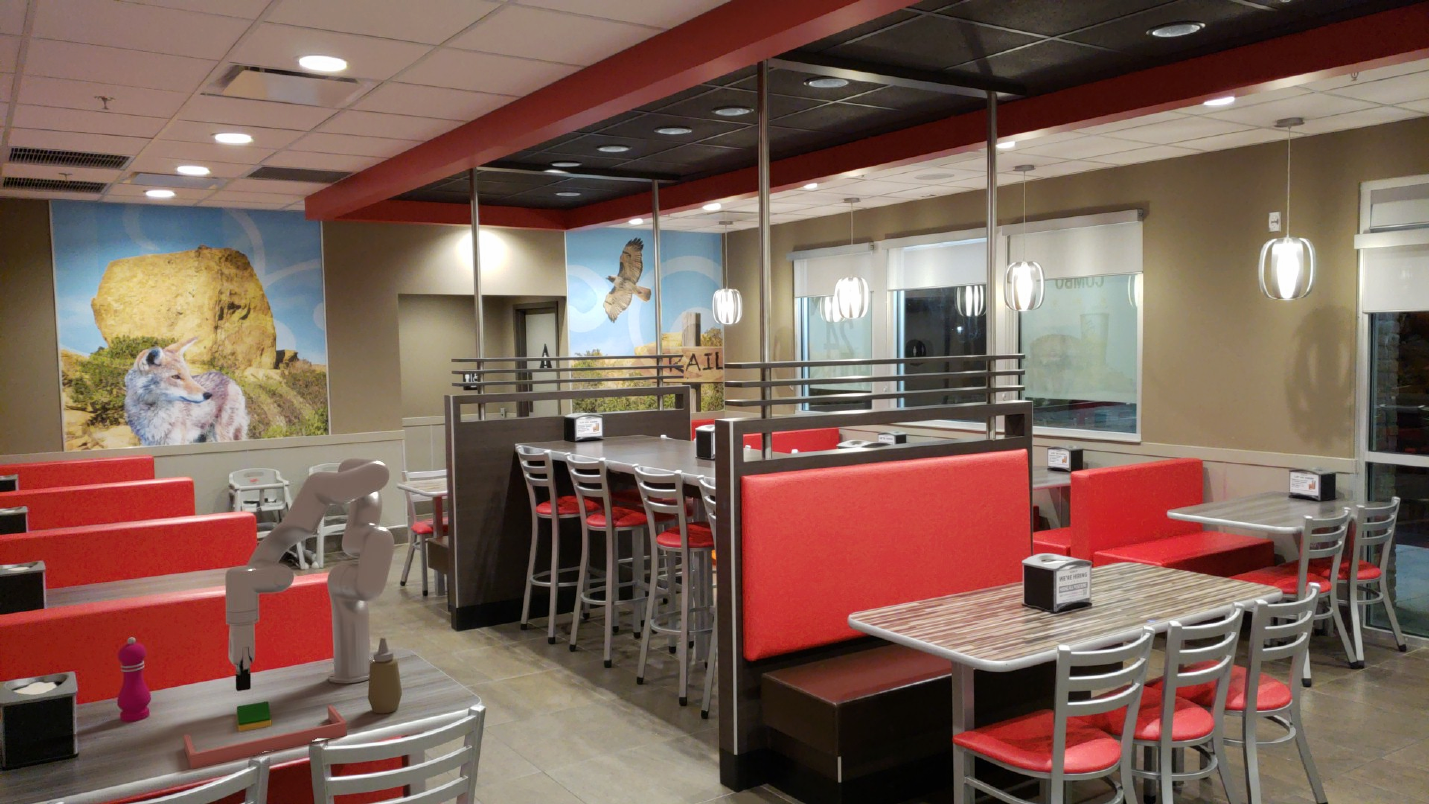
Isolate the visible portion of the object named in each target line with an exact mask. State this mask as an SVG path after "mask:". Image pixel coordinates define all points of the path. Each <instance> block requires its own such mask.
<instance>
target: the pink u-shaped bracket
mask: <svg viewBox="0 0 1429 804" xmlns="http://www.w3.org/2000/svg"><path fill="white" fill-rule="evenodd" d="M327 715H328V720H329V721H330V723H331V724H327V725H320V726H316V727H312V728H308V729H302V730H297V731H293V732H292V731H291V732H287V733H283V734H278V735H273V736H267V737H265V738H260V739H253V740H249V741H244V742H240V743H234V744H231V745H225V746H221V747H216V748H210V749H206V750H202V751H198V752H196V751H195V750H196V749H195V748H194V745H193V742H192V739H191V737H190V733H187V734H183V745H184V747H183V748H184V751H185V754H186V758H187V761H188V764H189V767H190V769H191V770H192V769H193V770H194V769H197V768H198V769H199V768H202V767H207V766H211V765H216V764H219V763H221V764H222V763H225V762H230V761H234V760H238V759H243V758H248V757H253V756H252V755H254V756H256V755H255V754H258V755H261V754H260V753H262V752H264V751H272V750H277V751H281V750H280V749H282V750H284V749H286V750H287V749H290V748H294V747H295V746H296V747H299V746H304V744H305V745H309V744H311V743H310V742H312V740H315V739H317V738H333V739H335V738H334V737H337V738H341V736H342V737H345V736H344V735H346V736H347V735H348V729H347V727H348V726H347V721H346V720H345V719H344V718H343V716H341V714H340V713H339V712H338V711H337V710H336V709H335V707H334V706H333V705H328V706H327ZM308 743H309V744H308ZM272 752H273V751H272Z"/></svg>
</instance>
